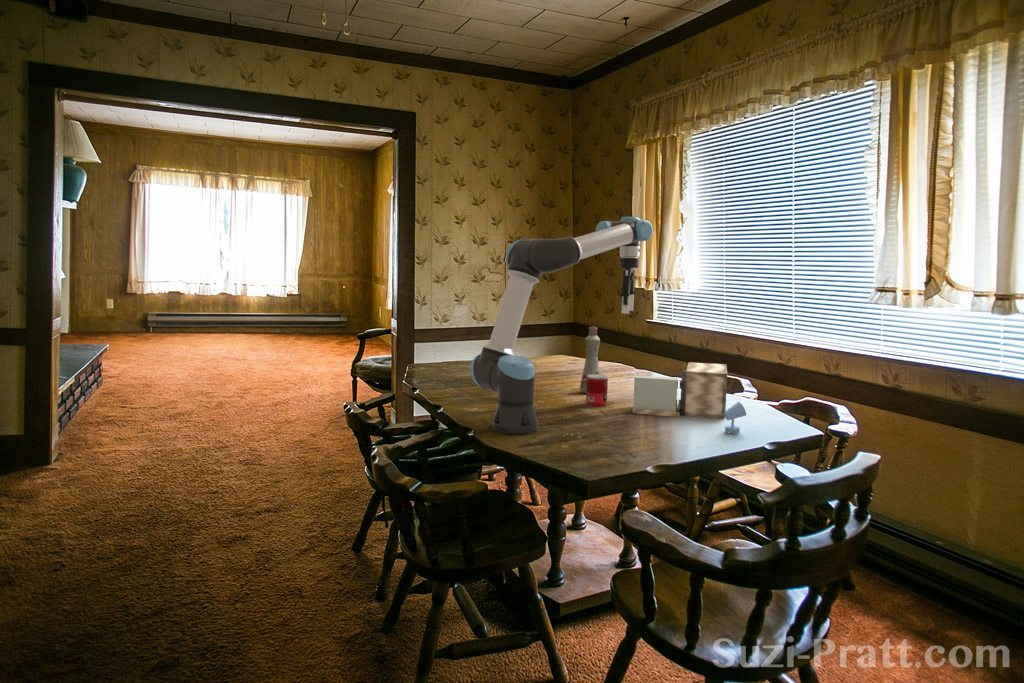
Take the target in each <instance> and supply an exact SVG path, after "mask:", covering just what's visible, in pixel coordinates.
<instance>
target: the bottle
mask: <svg viewBox="0 0 1024 683" xmlns="http://www.w3.org/2000/svg"><path fill="white" fill-rule="evenodd" d="M584 342H585V350H586V356H585V361H584V366H583V372H582V376H581V380H580V384H579V385H580V386H579V391H580V393H583V394H585V395H586V387H587V375H590V374H600V367H599V360H598V353H599V349H600V348H599V347H600V343H601V339H600V337H599V336H598V327H597V326H594V325H592V326H589V327H588V336H586V337H585V338H584Z"/></svg>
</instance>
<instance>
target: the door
mask: <svg viewBox="0 0 1024 683" xmlns="http://www.w3.org/2000/svg"><path fill="white" fill-rule="evenodd" d="M633 387H634V388H633V404H632V405H633V407H632V410H633V409H646V410H658V411H671V412H676V408H678V398H677V396H678V388H679V380H678V377H668V376H667V377H664V376H663V377H662V376H648V375H635V376H634V383H633Z"/></svg>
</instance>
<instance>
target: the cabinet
mask: <svg viewBox="0 0 1024 683" xmlns="http://www.w3.org/2000/svg"><path fill="white" fill-rule="evenodd" d="M727 385H728V366H727V364H726V363H710V362H693V361H690V362H689V361H688V364H687V367H686V370H682V371H681V380H679V389H680V399H679V400H678V407H677V408H676V412H671V411H658V410H646V409H633V408H632V414H640V415H650V416H652V415H653V416H662V417H663V416H664V417H665V416H666V417H677V418H679V417H681V416H689V417H699V416H703V417H702V418H712V417H719V418H718V419H724V418H725V416H724V412H725V411H726V408H727V405H726V404H727V390H728V389H727V387H728V386H727ZM725 419H726V418H725Z"/></svg>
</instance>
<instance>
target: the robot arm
mask: <svg viewBox="0 0 1024 683" xmlns="http://www.w3.org/2000/svg"><path fill="white" fill-rule="evenodd" d="M653 233H654V230H653V225H652V223H651V222H650V221H649V220H647V219H641V218H640V217H636V216H622V217H621V219H620V220H614V221H613V220H602V221H599V223H597V225H596V227H595V231H593V232H590V233H587V234H584V235H581V236H576V237H572V236H565V237H561V238H522V239H518V240H515V241H514V242H512V243H511V244H510V245H509V247H508V248H507V251H506V254H505V262H506V264H507V271H506V272H507V275H508V276H509V278H508V282H507V284H506V288H505V291H504V295H503V297H502V301H501V304H500V308H499V311H498V314H497V317H496V320H495V323H494V326H493V329H492V332H491V336H490V339H489V342H488V343H487V344H485V345H483V346H482V350H481V352H480V354H477V355H476V356H474V358H473V359H472V361H471V363H470V367H469V368H470V369H469V373H470V377H471V379H472V381H473V383H475V385H476V386H478V387H481V388H482V389H484V390H488V391H491V392H496V393H497V407H496V410H495V413H494V416H493V419H492V421H491V422H492V423H491V425H492V430H493V431H495V432H496V433H497V432H498V433H501V434H508V435H527V434H531V433H535V432H537V431H538V430H539V418H538V415H537V413H536V410H535V406H534V399H535V397H534V394H535V393H534V392H535V391H534V390H535V364H534V361H532V360H531V359H530V358H527V357H524V356H521V355H520V356H519V355H515V353H514V348H515V344H516V341H517V338H518V335H519V331H520V328H521V325H522V323H523V318H524V316H525V313H526V308H527V307H528V302H529V300H530V296H531V293H532V291H533V287H534V286H535V285H536V284H537V283H540V280H541V277H542V274H550V273H555V272H556V271H560V270H563V269H565V268H568V267H572V266H574V265H577V264H578V263H579V262H580V260H584V259H586V258H589V257H592V256H595V255H598V254H601V253H605V252H608V251H611V250H615V249H617V248H618V249H619V257H620V258H619V268H623V269H624V270H623V273H622V286H621V287H622V288H621V293H620V294H619V296H620V297H621V314H630V312H633V311H634V301H635V300H634V299H635V295H636V294H637V292H636V291H635V269H638V268H640V259H639V258H638V257H640V252H642V249H641V248H640V245H641V243H642V242H647V241H649V240H650V239H651V238H652V237H653ZM640 242H641V243H640Z"/></svg>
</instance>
